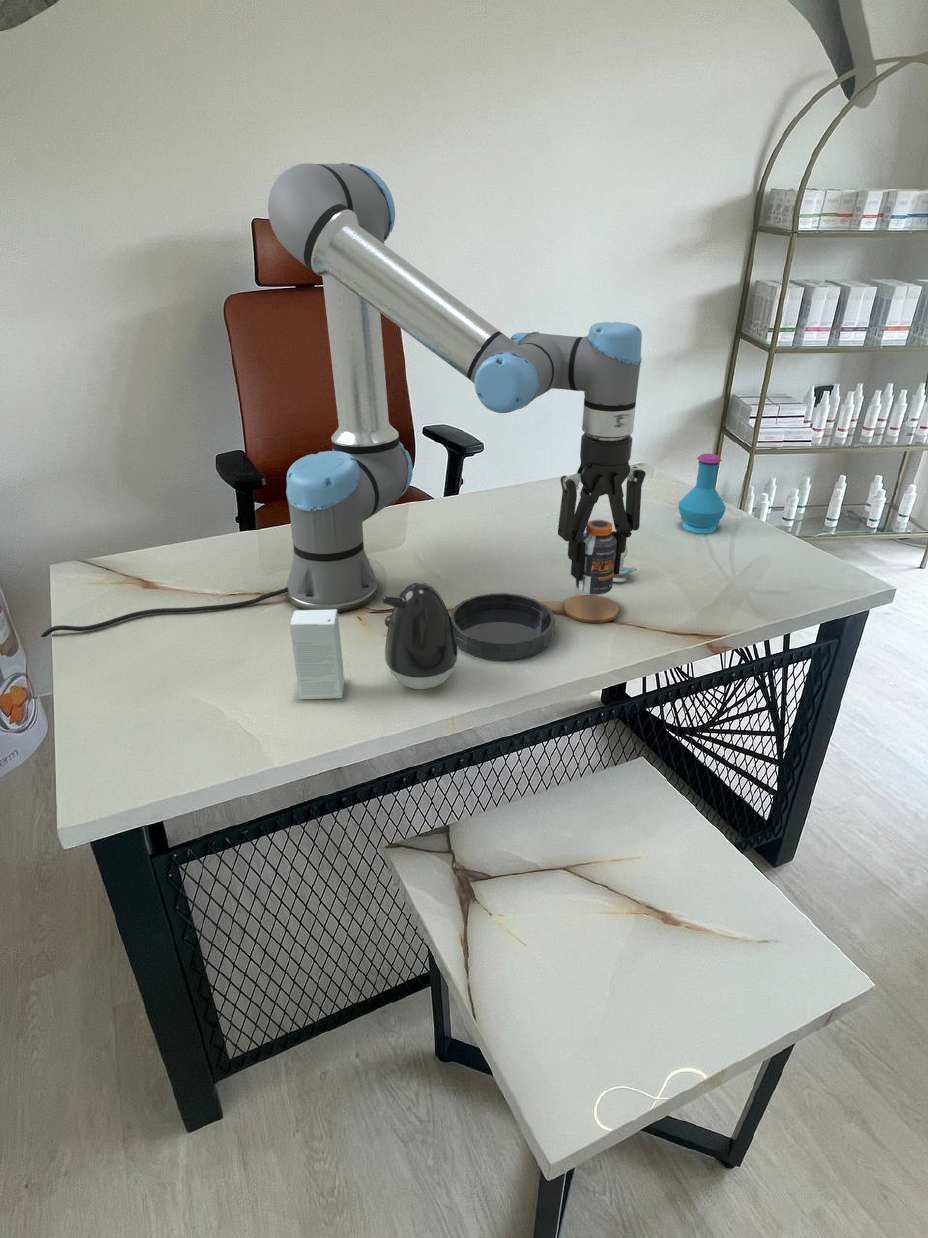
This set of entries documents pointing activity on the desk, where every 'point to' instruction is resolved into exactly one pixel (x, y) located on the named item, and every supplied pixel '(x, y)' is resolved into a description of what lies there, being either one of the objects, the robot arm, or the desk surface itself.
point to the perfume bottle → (703, 499)
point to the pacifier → (623, 569)
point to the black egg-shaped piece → (420, 638)
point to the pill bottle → (598, 558)
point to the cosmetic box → (317, 653)
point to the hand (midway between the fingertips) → (594, 573)
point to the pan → (503, 626)
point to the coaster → (591, 608)
